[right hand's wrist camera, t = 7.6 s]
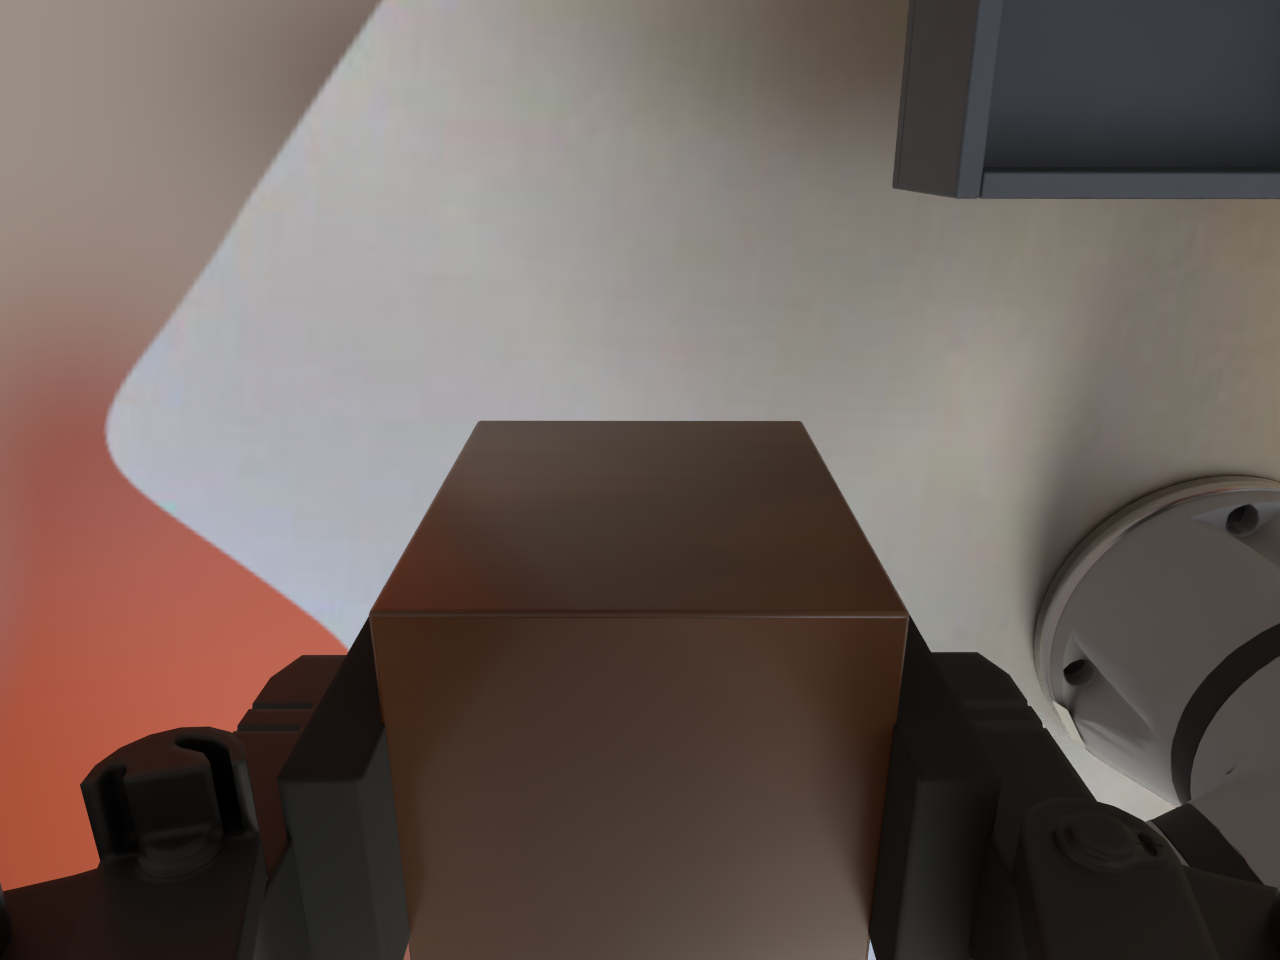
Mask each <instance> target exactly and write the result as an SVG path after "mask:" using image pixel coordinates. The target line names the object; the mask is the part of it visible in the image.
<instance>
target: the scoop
mask: <svg viewBox="0 0 1280 960" xmlns="http://www.w3.org/2000/svg"><path fill="white" fill-rule="evenodd" d="M892 187H893V188H895V189H902V190H908V191H914V192H920V193H926V194H932V195H938V196H944V197H951V198H957V199H976V198H981V199H1280V0H910V3H909V14H908V25H907V35H906V46H905V57H904V67H903V78H902V88H901V99H900V110H899V120H898V131H897V142H896V152H895V163H894V174H893V184H892Z"/></svg>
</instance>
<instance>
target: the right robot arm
mask: <svg viewBox="0 0 1280 960" xmlns="http://www.w3.org/2000/svg"><path fill="white" fill-rule="evenodd" d="M1034 658H1035V665H1036V672H1037V675H1038V679H1039V682H1040V686H1041V688H1042V690H1043V692H1044V695H1045V697H1046V699H1047V700H1048V702H1049V704H1050V706H1051V707H1052V709H1053V710H1054V711H1055V713H1056V714H1057V715H1058V717H1059V718H1060V720H1061V721H1062V723H1063V725H1064V727H1065V729H1066V731H1067V733H1068V735H1069V737H1070V739H1071V740H1072V741H1074V742H1076V743H1077V744H1079V745H1080V746H1082V747H1083V748H1085V749H1086V750H1088V751H1089V752H1090V753H1091V754H1093V755H1094V756H1096V757H1097V758H1098V759H1100V760H1101V761H1102V762H1104V763H1105V764H1107V765H1108V766H1110V767H1112V768H1113V769H1115V770H1117V771H1118V772H1120V773H1122V774H1123V775H1125V776H1126V777H1128V778H1130V779H1131V780H1133V781H1135V782H1136V783H1138V784H1140V785H1141V786H1143V787H1145V788H1146V789H1148V790H1150V791H1151V792H1153V793H1155V794H1156V795H1158V796H1160V797H1161V798H1163V799H1164V800H1166V801H1168V802H1169V803H1171V804H1173V805H1174V806H1176V807H1177V808H1175V809H1173V810H1171V811H1169V812H1167V813H1165V814H1163V815H1161V816H1159V817H1157V818H1155V819H1152V820H1148V821H1146V822H1144V821H1143V820H1141V819H1139V818H1137V817H1135V816H1133V815H1131V814H1129V813H1127V812H1125V811H1123V810H1121V809H1119V808H1117V807H1115V806H1112V805H1108V804H1104V803H1101V802H1097V801H1096V799H1095V798H1094V796H1093V795H1092V793H1091V792H1090V791H1089V789H1088V788H1087V786H1086V785H1085V783H1084V782H1083V780H1082V779H1081V778H1080V776H1079V775H1078V773H1077V772H1076V770H1075V769H1074V767H1073V766H1072V765H1071V763H1070V762H1069V760H1068V759H1067V757H1066V756H1065V754H1064V753H1063V752H1062V750H1061V749H1060V747H1059V746H1058V744H1057V743H1056V742H1055V740H1054V739H1053V737H1052V736H1051V734H1050V733H1049V731H1048V730H1047V729H1046V728H1043V726H1042V721H1041V720H1040V718H1039V717H1038V716H1037V714H1036V713H1035V711H1034V710H1033V708H1032V707H1031V706H1028V705H1027V700H1026V698H1025V697H1024V695H1023V694H1022V692H1021V691H1020V690H1019V688H1018V687H1017V685H1016V684H1015V682H1014V681H1013V680H1012V678H1011V677H1010V675H1009V674H1007V673H1006V672H1005V671H1003V670H1002V669H1000V668H999V667H997V666H996V665H995V664H993V663H992V662H990V661H989V660H988V659H986V658H985V657H983V656H982V655H980V654H979V653H978V652H931V651H930V650H929V648H928V646H927V644H926V643H925V641H924V639H923V637H922V636H921V634H920V632H919V630H918V629H917V627H916V625H915V623H914V622H913V620H912V618H911V616H910V615H909V624H908V632H907V640H906V649H905V657H904V665H903V673H902V681H901V689H900V698H899V706H898V714H897V722H896V724H895V725H894V733H893V741H892V749H891V758H890V766H889V774H888V783H887V791H886V799H885V807H884V816H883V824H882V832H881V841H880V849H879V857H878V865H877V874H876V882H875V890H874V899H873V907H872V915H871V923H870V932H869V936H870V940H871V943H872V947H873V950H874V954H875V957H876V960H1280V482H1278V481H1274V480H1269V479H1264V478H1258V477H1248V476H1221V477H1209V478H1203V479H1198V480H1192V481H1188V482H1184V483H1181V484H1177V485H1174V486H1171V487H1168V488H1165V489H1162V490H1159V491H1157V492H1155V493H1152V494H1150V495H1148V496H1146V497H1143V498H1141V499H1139V500H1138V501H1136V502H1134V503H1132V504H1130V505H1128V506H1127V507H1125V508H1123V509H1122V510H1120V511H1119V512H1117V513H1116V514H1114V515H1113V516H1111V517H1110V518H1109V519H1107V520H1106V521H1105V522H1103V523H1102V524H1101V525H1100V526H1098V527H1097V528H1096V529H1095V530H1094V531H1093V532H1092V533H1090V534H1089V535H1088V536H1087V537H1086V538H1085V539H1084V540H1083V541H1082V542H1081V543H1080V544H1079V545H1078V547H1077V548H1076V549H1075V550H1074V551H1073V552H1072V553H1071V555H1070V556H1069V557H1068V558H1067V560H1066V561H1065V562H1064V564H1063V565H1062V567H1061V568H1060V570H1059V571H1058V573H1057V574H1056V576H1055V577H1054V579H1053V581H1052V583H1051V585H1050V587H1049V589H1048V591H1047V593H1046V596H1045V598H1044V600H1043V603H1042V606H1041V609H1040V612H1039V616H1038V619H1037V625H1036V630H1035V640H1034ZM80 786H81V790H82V794H83V798H84V802H85V805H86V809H87V813H88V816H89V820H90V824H91V828H92V832H93V835H94V839H95V843H96V847H97V850H98V854H99V858H100V863H99V866H98V868H97V869H93V870H90V871H87V872H83V873H80V874H77V875H73V876H69V877H65V878H60V879H56V880H51V881H47V882H43V883H38V884H34V885H29V886H25V887H21V888H16V889H12V890H7V891H3V890H2V887H1V884H0V960H403V959H404V955H405V952H406V948H407V945H408V941H409V938H410V929H409V920H408V912H407V904H406V895H405V887H404V879H403V871H402V862H401V854H400V846H399V837H398V829H397V821H396V813H395V804H394V796H393V788H392V779H391V771H390V763H389V755H388V746H387V738H386V730H385V724H382V719H381V711H380V703H379V695H378V686H377V678H376V670H375V662H374V653H373V645H372V637H371V629H370V620H369V617H368V619H367V621H366V622H365V624H364V626H363V628H362V629H361V631H360V633H359V635H358V636H357V638H356V640H355V642H354V643H353V645H352V647H351V649H350V650H349V652H348V654H347V655H302V656H301V657H299V658H298V659H296V660H295V661H293V662H292V663H291V664H289V665H288V666H287V667H285V668H284V669H282V670H281V671H279V672H278V673H277V674H275V675H274V676H272V677H271V678H270V679H269V681H268V682H267V684H266V685H265V687H264V688H263V690H262V691H261V692H260V694H259V695H258V697H257V698H256V700H255V701H254V703H253V707H252V709H249V710H248V711H247V713H246V714H245V716H244V717H243V719H242V720H241V721H240V723H239V724H238V729H237V731H234V732H233V733H231V732H228V731H224V730H220V729H216V728H212V727H183V728H177V729H173V730H168V731H164V732H160V733H156V734H151V735H148V736H146V737H144V738H142V739H139V740H137V741H135V742H132V743H130V744H128V745H126V746H123V747H121V748H119V749H118V750H116V751H115V752H114V753H112V754H111V755H109V756H108V757H107V758H105V759H104V760H102V761H101V762H99V763H98V764H97V765H95V766H94V768H93V769H92V770H91V772H90V773H89V774H88V775H87V777H86V778H85V779H84V781H83V782H82V783H81V784H80Z"/></svg>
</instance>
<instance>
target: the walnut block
mask: <svg viewBox="0 0 1280 960" xmlns="http://www.w3.org/2000/svg"><path fill="white" fill-rule="evenodd" d="M369 620H370V629H371V637H372V645H373V653H374V662H375V670H376V678H377V686H378V695H379V703H380V711H381V719H382V724H385V730H386V738H387V746H388V755H389V763H390V771H391V779H392V788H393V796H394V804H395V813H396V821H397V829H398V837H399V846H400V854H401V862H402V871H403V879H404V887H405V895H406V904H407V912H408V920H409V929H410V938H409V941H408V942H409V951H410V959H411V960H867V959H868V951H869V943H870V936H869V932H870V923H871V915H872V907H873V899H874V890H875V882H876V874H877V865H878V857H879V849H880V841H881V832H882V824H883V816H884V807H885V799H886V791H887V783H888V774H889V766H890V758H891V749H892V741H893V733H894V725H895V724H896V722H897V714H898V706H899V698H900V689H901V681H902V673H903V665H904V657H905V649H906V640H907V632H908V624H909V613H908V611H907V609H906V607H905V605H904V604H903V602H902V600H901V598H900V596H899V595H898V593H897V591H896V589H895V587H894V586H893V584H892V582H891V580H890V579H889V577H888V575H887V573H886V571H885V570H884V568H883V566H882V564H881V562H880V561H879V559H878V557H877V555H876V554H875V552H874V550H873V548H872V546H871V545H870V543H869V541H868V539H867V538H866V536H865V534H864V532H863V530H862V529H861V527H860V525H859V523H858V521H857V520H856V518H855V516H854V514H853V513H852V511H851V509H850V507H849V505H848V504H847V502H846V500H845V498H844V496H843V495H842V493H841V491H840V489H839V488H838V486H837V484H836V482H835V480H834V479H833V477H832V475H831V473H830V472H829V470H828V468H827V466H826V464H825V463H824V461H823V459H822V457H821V455H820V454H819V452H818V450H817V448H816V447H815V445H814V443H813V441H812V439H811V438H810V436H809V434H808V432H807V430H806V429H805V427H804V425H803V423H802V422H800V421H479V422H478V423H477V425H476V426H475V428H474V430H473V432H472V433H471V435H470V437H469V439H468V440H467V442H466V444H465V446H464V447H463V449H462V451H461V453H460V454H459V456H458V458H457V460H456V461H455V463H454V465H453V467H452V468H451V470H450V472H449V474H448V476H447V477H446V479H445V481H444V483H443V484H442V486H441V488H440V490H439V491H438V493H437V495H436V497H435V498H434V500H433V502H432V504H431V505H430V507H429V509H428V511H427V512H426V514H425V516H424V518H423V519H422V521H421V523H420V525H419V526H418V528H417V530H416V532H415V533H414V535H413V537H412V539H411V540H410V542H409V544H408V546H407V547H406V549H405V551H404V553H403V554H402V556H401V558H400V560H399V561H398V563H397V565H396V567H395V568H394V570H393V572H392V574H391V575H390V577H389V579H388V581H387V583H386V584H385V586H384V588H383V590H382V591H381V593H380V595H379V597H378V598H377V600H376V602H375V604H374V605H373V607H372V609H371V611H370V613H369Z"/></svg>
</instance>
